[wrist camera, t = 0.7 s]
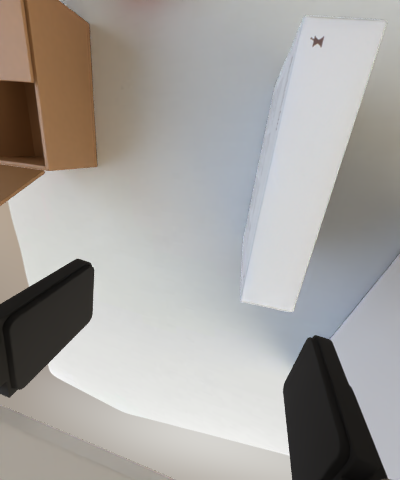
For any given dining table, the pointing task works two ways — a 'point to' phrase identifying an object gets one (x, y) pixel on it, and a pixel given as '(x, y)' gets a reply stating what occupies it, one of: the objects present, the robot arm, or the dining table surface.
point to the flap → (15, 180)
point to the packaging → (376, 363)
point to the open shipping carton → (45, 87)
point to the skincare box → (304, 152)
